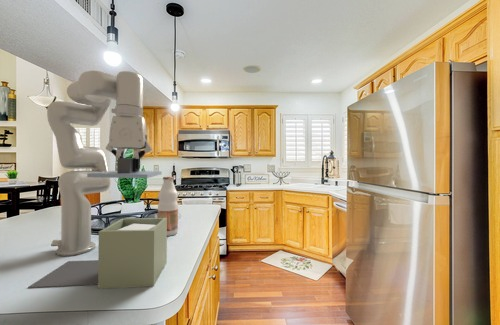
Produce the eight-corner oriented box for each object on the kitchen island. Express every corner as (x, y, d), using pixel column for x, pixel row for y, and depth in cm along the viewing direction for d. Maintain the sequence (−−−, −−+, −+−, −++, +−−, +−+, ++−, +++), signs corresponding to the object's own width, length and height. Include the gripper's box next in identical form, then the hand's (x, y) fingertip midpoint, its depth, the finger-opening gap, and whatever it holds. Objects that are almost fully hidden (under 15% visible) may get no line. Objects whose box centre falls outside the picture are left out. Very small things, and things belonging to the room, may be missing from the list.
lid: (87, 177, 65) (87, 157, 65) (113, 173, 81) (113, 157, 81) (147, 178, 67) (147, 158, 67) (161, 174, 83) (161, 158, 83)
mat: (28, 288, 65) (27, 287, 65) (68, 262, 82) (68, 261, 82) (96, 285, 67) (96, 284, 67) (122, 260, 84) (122, 259, 84)
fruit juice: (156, 237, 110) (156, 177, 110) (159, 231, 119) (159, 176, 119) (177, 235, 112) (177, 177, 112) (178, 230, 121) (179, 176, 121)
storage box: (98, 288, 66) (98, 231, 66) (121, 264, 81) (121, 218, 80) (153, 285, 67) (154, 230, 67) (166, 263, 82) (166, 217, 82)
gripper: (95, 109, 69) (94, 171, 69) (153, 112, 71) (152, 172, 71) (107, 114, 76) (106, 170, 77) (160, 116, 78) (159, 171, 79)
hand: (128, 170), depth 74 cm, fingers closed on lid, 3 cm apart
